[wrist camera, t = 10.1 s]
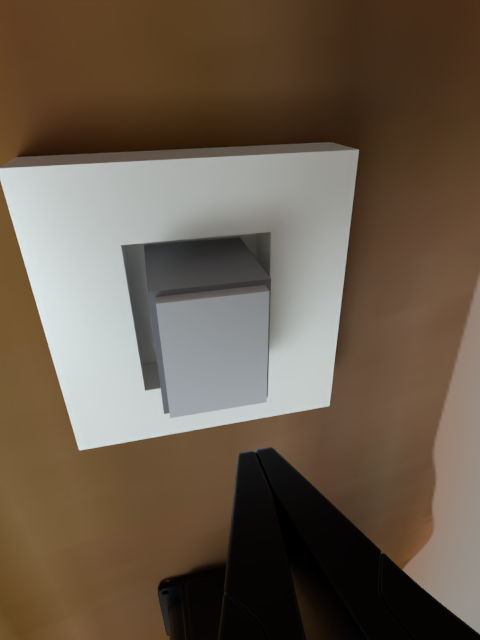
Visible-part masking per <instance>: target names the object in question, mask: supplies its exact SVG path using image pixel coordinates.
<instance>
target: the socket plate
mask: <svg viewBox="0 0 480 640" xmlns="http://www.w3.org/2000/svg"><path fill="white" fill-rule="evenodd" d="M358 155H359V149H355V148H351V147H347V146H343V145H340V144H336V143H332V142H322V143H301V144H280V145H259V146H238V147H217V148H196V149H175V150H155V151H134V152H113V153H92V154H71V155H50V156H29V157H15V158H14V159H12V160H10V161H9V162H7V163H5V164H4V165H2V166H0V181H1V184H2V188H3V191H4V195H5V198H6V201H7V205H8V208H9V212H10V215H11V219H12V222H13V225H14V229H15V232H16V236H17V239H18V243H19V246H20V249H21V253H22V256H23V260H24V263H25V267H26V270H27V273H28V277H29V280H30V284H31V287H32V291H33V294H34V297H35V301H36V304H37V308H38V311H39V315H40V318H41V321H42V325H43V328H44V332H45V335H46V339H47V342H48V345H49V349H50V352H51V356H52V359H53V363H54V366H55V369H56V373H57V376H58V380H59V383H60V387H61V390H62V393H63V397H64V400H65V404H66V407H67V411H68V414H69V417H70V421H71V424H72V428H73V431H74V435H75V438H76V441H77V445H78V448H79V451H80V450H85V449H91V448H97V447H102V446H108V445H113V444H119V443H125V442H130V441H136V440H142V439H147V438H153V437H158V436H164V435H170V434H175V433H181V432H187V431H192V430H198V429H203V428H209V427H215V426H220V425H226V424H232V423H237V422H243V421H248V420H254V419H260V418H265V417H271V416H277V415H282V414H288V413H293V412H299V411H305V410H310V409H316V408H322V407H327V406H329V405H330V397H331V388H332V380H333V371H334V362H335V354H336V345H337V336H338V328H339V319H340V310H341V302H342V293H343V284H344V276H345V267H346V259H347V250H348V241H349V233H350V224H351V215H352V207H353V198H354V189H355V181H356V172H357V163H358ZM238 237H240V238H241V239H242V241H243V242H244V243H245V245H246V246H247V247H248V249H249V250H250V251H251V253H252V254H253V255H254V257H255V258H256V259H257V261H258V262H259V263H260V265H261V266H262V267H263V269H264V270H265V271H266V273H267V274H268V275H269V277H270V278H271V299H270V334H269V370H268V397H267V402H265V403H258V404H252V405H246V406H240V407H234V408H228V409H222V410H216V411H210V412H204V413H198V414H192V415H186V416H180V417H174V418H170V413H167V414H164V410H163V402H162V395H161V387H160V380H159V372H158V365H157V357H156V350H155V342H154V335H153V327H152V320H151V312H150V304H149V297H148V288H147V277H146V266H145V254H144V245H155V244H167V243H179V242H191V241H203V240H215V239H227V238H238Z"/></svg>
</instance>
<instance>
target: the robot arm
mask: <svg viewBox="0 0 480 640" xmlns="http://www.w3.org/2000/svg"><path fill="white" fill-rule="evenodd" d="M158 597H159V601H160V606H161V611H162V616H163V620H164V625H165V630H166V634H167V635H168V636H170V640H480V634H479V633H477V632H476V631H475V630H474V629H472V628H471V627H470V626H469V625H467V624H466V623H465V622H463V621H462V620H461V619H460V618H458V617H457V616H456V615H455V614H453V613H452V612H451V611H450V610H448V609H447V608H446V607H444V606H443V605H442V604H441V603H439V602H438V601H437V600H436V599H435V598H433V597H432V596H431V595H430V594H429V593H427V592H426V591H425V590H424V589H423V588H421V587H420V586H419V585H418V584H417V583H416V582H415V581H413V580H412V579H411V578H410V577H409V576H408V575H407V574H406V573H405V572H404V571H403V570H401V569H400V568H399V567H398V566H397V565H396V564H395V563H394V562H393V561H392V560H391V559H390V558H389V557H388V556H387V555H386V554H384V553H382V555H381V550H380V549H379V548H378V547H377V546H376V545H375V544H374V543H373V542H372V541H371V540H370V539H369V538H367V537H366V536H365V535H364V534H363V533H362V532H361V531H360V530H359V529H358V528H357V527H356V526H355V525H354V524H353V523H352V522H351V521H350V520H349V519H347V518H346V517H345V516H344V515H343V514H342V513H341V512H340V511H339V510H338V509H337V508H336V507H335V506H334V505H333V504H332V503H331V502H330V501H329V500H327V499H326V498H325V497H324V496H323V495H322V494H321V493H320V492H319V491H318V490H317V489H316V488H315V487H314V486H313V485H312V484H311V483H310V482H308V481H307V480H306V479H305V478H304V477H303V476H302V475H301V474H300V473H299V472H298V471H297V470H296V469H295V468H294V467H293V466H292V465H291V464H290V463H288V462H287V461H286V460H285V459H284V458H283V457H282V456H281V455H280V454H279V453H278V452H277V451H276V450H275V449H274V448H272V447H267V448H262V449H257V450H256V451H253V450H251V451H246V452H241V453H239V454H238V458H237V468H236V478H235V488H234V497H233V507H232V517H231V527H230V537H229V546H228V556H227V566H226V568H222V569H218V570H214V571H210V572H206V573H202V574H198V575H193V576H189V577H185V578H181V579H177V580H173V581H169V582H165V583H162V584H160V585H159V586H158Z"/></svg>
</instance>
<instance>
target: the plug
mask: <svg viewBox="0 0 480 640" xmlns="http://www.w3.org/2000/svg"><path fill="white" fill-rule="evenodd" d="M144 254H145V266H146V277H147V288H148V297H149V304H150V312H151V320H152V327H153V335H154V342H155V350H156V357H157V365H158V372H159V380H160V387H161V395H162V402H163V410H164V414H167V413H170V418H174V417H180V416H186V415H192V414H198V413H204V412H210V411H216V410H222V409H228V408H234V407H240V406H246V405H252V404H258V403H265V402H267V397H268V370H269V334H270V299H271V278H270V277H269V275H268V274H267V273H266V271H265V270H264V269H263V267H262V266H261V265H260V263H259V262H258V261H257V259H256V258H255V257H254V255H253V254H252V253H251V251H250V250H249V249H248V247H247V246H246V245H245V243H244V242H243V241H242V239H241V238H240V237H238V238H227V239H215V240H203V241H191V242H179V243H167V244H155V245H144Z"/></svg>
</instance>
